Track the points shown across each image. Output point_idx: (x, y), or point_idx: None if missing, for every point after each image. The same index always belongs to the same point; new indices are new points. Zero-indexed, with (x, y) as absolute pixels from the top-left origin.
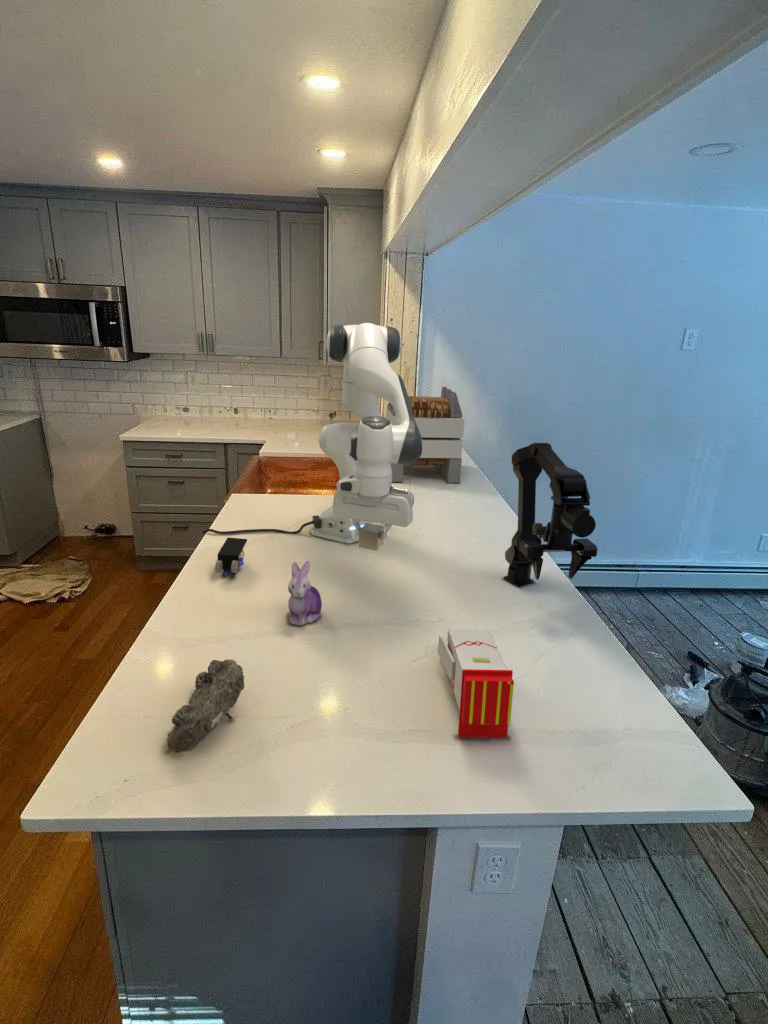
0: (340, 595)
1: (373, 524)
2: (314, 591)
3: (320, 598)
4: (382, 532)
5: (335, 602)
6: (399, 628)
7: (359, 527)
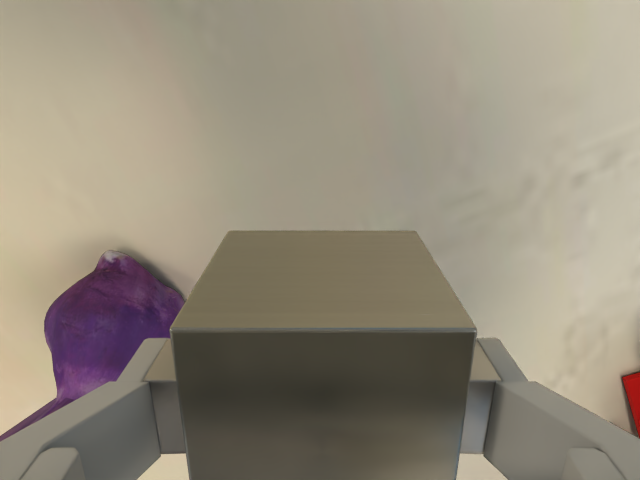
0: (170, 122)
1: (296, 341)
2: (125, 353)
3: (157, 322)
4: (468, 427)
5: (181, 186)
6: (466, 266)
7: (145, 428)
